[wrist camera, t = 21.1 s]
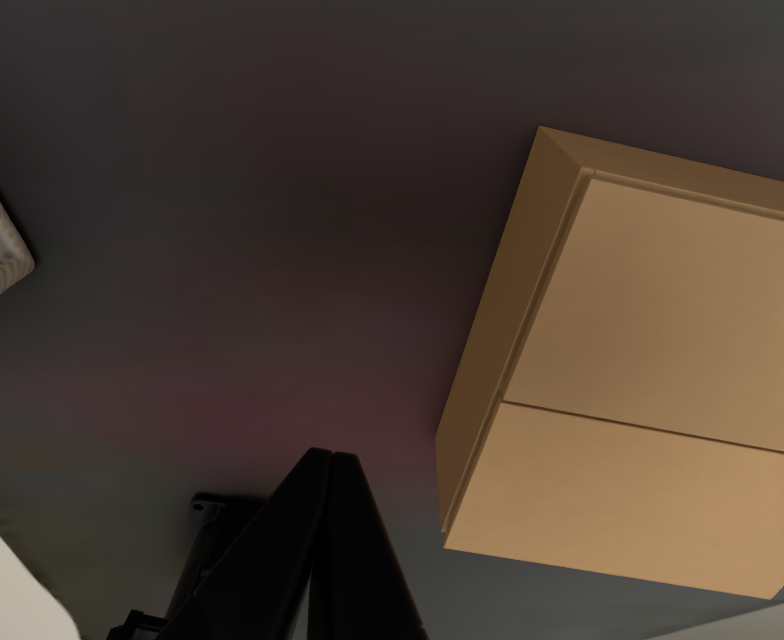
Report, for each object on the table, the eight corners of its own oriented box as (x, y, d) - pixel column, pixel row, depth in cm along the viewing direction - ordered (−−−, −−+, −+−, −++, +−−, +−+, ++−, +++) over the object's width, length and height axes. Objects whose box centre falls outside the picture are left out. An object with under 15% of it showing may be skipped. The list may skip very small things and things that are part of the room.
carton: (700, 484, 28) (771, 601, 22) (434, 437, 26) (441, 549, 21) (896, 207, 20) (1071, 282, 15) (538, 125, 19) (590, 175, 14)
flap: (765, 590, 23) (771, 600, 22) (442, 539, 21) (443, 548, 21) (878, 465, 19) (887, 473, 19) (498, 395, 18) (500, 403, 18)
